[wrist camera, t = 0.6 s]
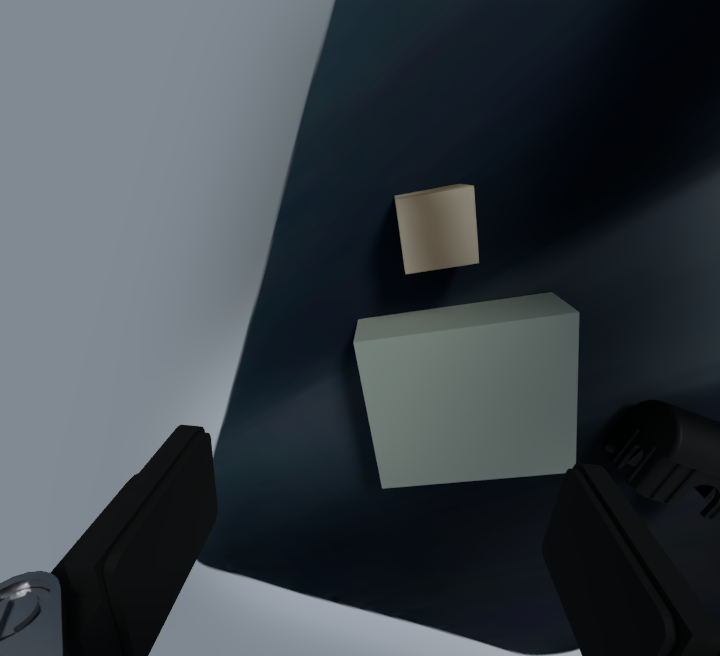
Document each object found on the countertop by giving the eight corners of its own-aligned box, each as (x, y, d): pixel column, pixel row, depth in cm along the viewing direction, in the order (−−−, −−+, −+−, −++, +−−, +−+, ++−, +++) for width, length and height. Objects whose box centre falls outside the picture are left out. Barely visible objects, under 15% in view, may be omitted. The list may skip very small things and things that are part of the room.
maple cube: (460, 183, 30) (473, 185, 25) (465, 249, 31) (479, 263, 27) (394, 195, 30) (395, 199, 26) (403, 259, 32) (405, 274, 27)
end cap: (740, 418, 35) (817, 472, 29) (689, 476, 38) (749, 537, 31) (639, 381, 34) (695, 428, 28) (595, 443, 37) (637, 498, 31)
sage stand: (551, 292, 32) (579, 312, 27) (552, 434, 37) (575, 472, 32) (358, 319, 34) (353, 342, 29) (383, 450, 39) (382, 488, 34)
